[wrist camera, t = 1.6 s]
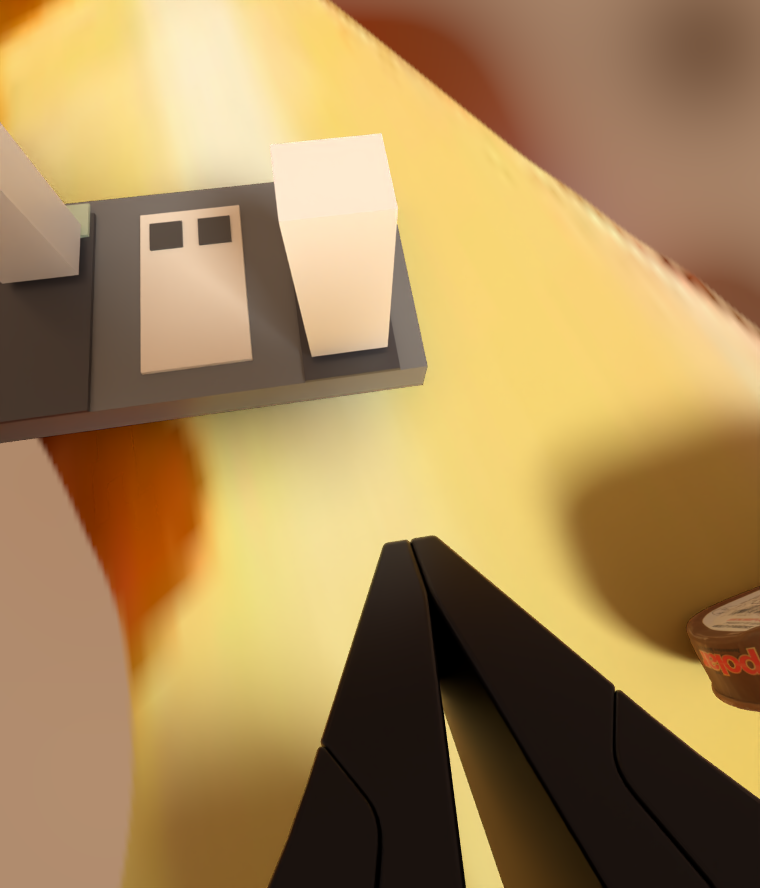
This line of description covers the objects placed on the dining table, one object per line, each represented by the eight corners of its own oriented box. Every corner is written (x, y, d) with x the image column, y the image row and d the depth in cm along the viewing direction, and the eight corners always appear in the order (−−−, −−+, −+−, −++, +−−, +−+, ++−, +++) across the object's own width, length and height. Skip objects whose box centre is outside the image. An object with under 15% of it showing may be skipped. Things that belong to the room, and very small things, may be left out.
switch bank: (422, 384, 23) (428, 362, 21) (-10, 444, 22) (-53, 427, 20) (384, 200, 27) (385, 164, 25) (11, 240, 25) (-24, 207, 23)
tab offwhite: (387, 346, 21) (398, 208, 13) (311, 356, 21) (278, 221, 13) (377, 292, 22) (381, 133, 14) (304, 301, 22) (269, 144, 14)
